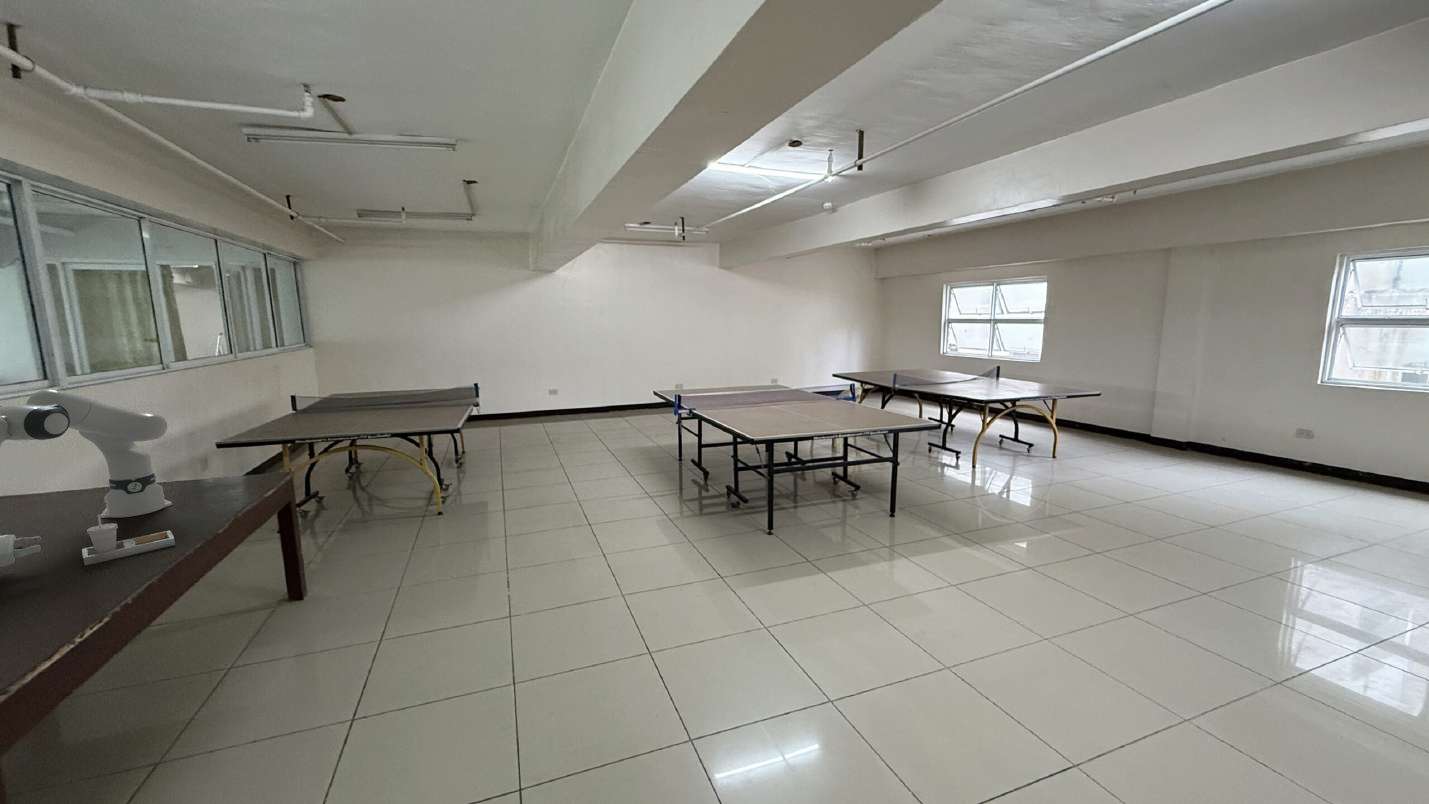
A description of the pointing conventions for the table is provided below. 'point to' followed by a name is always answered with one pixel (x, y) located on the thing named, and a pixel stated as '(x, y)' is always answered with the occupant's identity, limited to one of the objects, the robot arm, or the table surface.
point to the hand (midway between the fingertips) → (40, 543)
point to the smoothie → (103, 536)
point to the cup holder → (130, 547)
